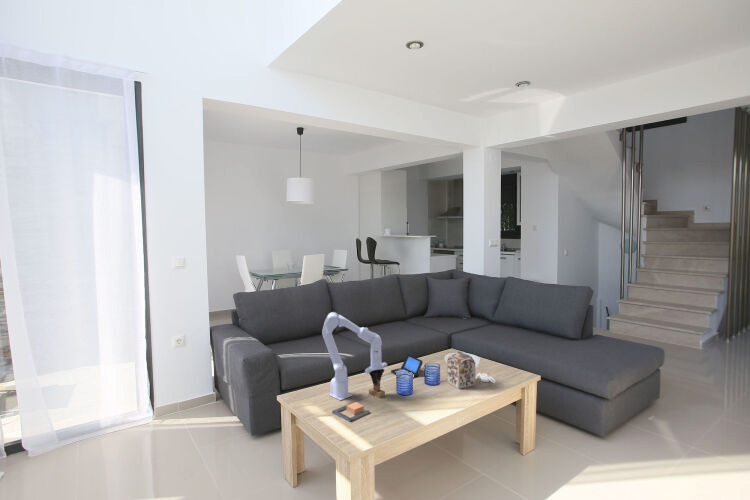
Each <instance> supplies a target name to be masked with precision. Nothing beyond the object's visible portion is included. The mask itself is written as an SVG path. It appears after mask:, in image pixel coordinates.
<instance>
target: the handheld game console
mask: <svg viewBox="0 0 750 500" xmlns="http://www.w3.org/2000/svg"><path fill="white" fill-rule="evenodd" d="M423 363H424V362H423V360H421V359H419V358H417V357H415V356H413V355H410V354H407V355H406V356H405V358H404V360H403V363H402V365H401V366H400V367H399V368H394V369H391V370H390V372H391V374H393V375H395V376H397V375H396V373H397V372H399V371H406V372H412V373H413V374H414V378H413V379H416V378H418V375H419V372H420V370H421V368H422V365H423Z"/></svg>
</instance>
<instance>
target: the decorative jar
mask: <svg viewBox="0 0 750 500" xmlns="http://www.w3.org/2000/svg"><path fill="white" fill-rule="evenodd" d="M476 375H477V374H476V361H475V360H474V358H473V357H472V355H469V354H467V353H466V352H465V351H457V352H456V353H452V354H451V355H449V357H448V358H447V359H446V383H448V384H449V385H451V386H452V387H454V388H456V389H458V390H461V389H465V388H469V387H475V386H476Z"/></svg>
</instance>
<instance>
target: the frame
mask: <svg viewBox="0 0 750 500" xmlns="http://www.w3.org/2000/svg"><path fill="white" fill-rule="evenodd" d="M352 403H353V402H350V403H348V404H346V405H343V406H340V407H338V408H336V409H334V410H332V411H331V413H332V414H334V415H335V416H338V417H339V418H341V419H343V420H345V421H348V422H349V423H351V422H353V421H355V420H358V419H359V418H362V417H364V416H367V415H368V414H370V410H369V409H366V410H364V412H361V413H359V414H356V415H353V416H351V417H350V416H348V415H346V414H343V413H342V411H345V410H347V405H349V404H352Z"/></svg>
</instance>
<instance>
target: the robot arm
mask: <svg viewBox="0 0 750 500" xmlns="http://www.w3.org/2000/svg"><path fill="white" fill-rule="evenodd" d="M337 326H338V328H342V327H345V328H346V329H348V330H350V331H352V332H353V333H355V334H357V337H358V338H359V339H361V340H362V341H365V342H366V343H367V344H368V343H369V344H370V366H368V367H367V368H365V369H364V373H365V374H367V375H369V376H370V378H371V381H372V384H375V385H376V384H377V380H380V381H381V380H382V378H383V377H382V376H383V374H384V372H385V369H384V368H387V367H388V363H387V362H382V345H383V342H382V338H381V336H380V335H379V334H378V333H376V332H373V331H370V330H369V328H368V327H367V326H366V327H364V326H362V327H359V325H357V324H355V323H353V322H352V321H350V320H349V319H348V318H346V317H344V316H343V315H341V314H338V313H337V312H335V311H332V312H329V313H328V314H327V316H326V318H325V320H324V323H323V327H322V332H321V334H322V337H323V341H324V343H325V346H326V348H327V351H328V354H329V357H330V360H331V363H332V366H333V369H334V373H335V374H334V377H333V378H332V379H331V380H330V385H329V387H330V393H329V396H330V397H333V398H334V399H336V400H339V401H342V400H345V399H347V398H350V397H352V396H353V395H352V394H351V393H349V378H348V368H347V366H346V365H345V364H344V362H343V360H342V358H341V354H340V353H339V350H338V348H337V344H336V342H335V338H334V337H333V332H334V330H335V329H336V328H337Z"/></svg>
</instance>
